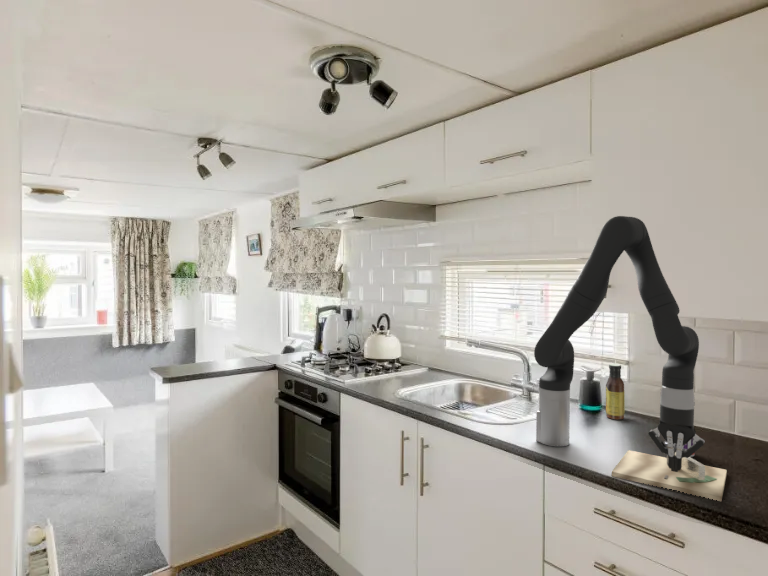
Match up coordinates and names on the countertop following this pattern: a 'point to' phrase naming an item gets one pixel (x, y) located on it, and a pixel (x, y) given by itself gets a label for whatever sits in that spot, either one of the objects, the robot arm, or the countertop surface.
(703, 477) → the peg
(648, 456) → the board
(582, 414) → the countertop surface
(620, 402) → the sauce bottle
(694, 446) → the robot arm
